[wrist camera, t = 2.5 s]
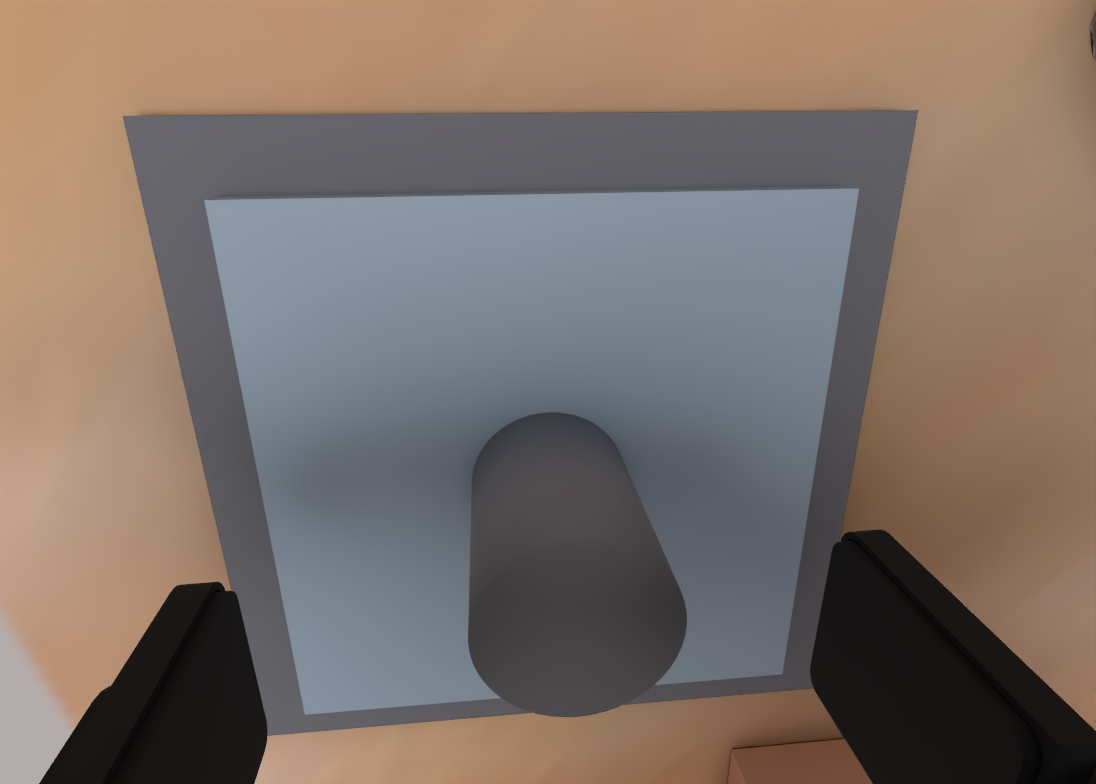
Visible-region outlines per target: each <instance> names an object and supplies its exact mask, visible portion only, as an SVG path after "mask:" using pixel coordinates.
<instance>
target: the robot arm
mask: <svg viewBox="0 0 1096 784" xmlns="http://www.w3.org/2000/svg"><path fill="white" fill-rule="evenodd" d="M810 677H811V681H812V685H813V687H814V690H815V691H816V693H817V695H818V697H819V698H820V700H821V701H822V703H823V705H824V706H825V708H826V709H827V711H828V713H829V714H830V716H831V717H832V719H833V721H834V722H835V724H836V726H837V727H838V729H839V730H840V732H841V734H842V735H843V737H844V738H845V740H846V742H847V743H848V745H849V746H850V748H851V750H852V751H853V753H854V754H855V756H856V758H857V759H858V761H859V762H860V764H861V766H862V767H863V769H864V771H865V772H866V774H867V775H868V777H869V779H870V780H871V782H872V783H873V784H1096V731H1095V730H1094V729H1093V728H1092V727H1091V726H1090V725H1089V724H1088V723H1087V722H1086V721H1085V720H1084V719H1083V718H1082V717H1080V716H1079V715H1078V714H1077V713H1076V712H1075V711H1074V710H1073V709H1072V708H1071V707H1070V706H1069V705H1068V704H1067V703H1066V702H1065V701H1064V700H1063V699H1062V698H1061V697H1060V696H1058V695H1057V694H1056V693H1055V692H1054V691H1053V690H1052V689H1051V688H1050V687H1049V686H1048V685H1047V684H1046V683H1045V682H1044V681H1043V680H1042V679H1041V678H1040V677H1039V676H1038V675H1036V674H1035V673H1034V672H1033V671H1032V670H1031V669H1030V668H1029V667H1028V666H1027V665H1026V664H1025V663H1024V662H1023V661H1022V660H1021V659H1020V658H1019V657H1018V656H1017V655H1016V654H1014V653H1013V652H1012V651H1011V650H1010V649H1009V648H1008V647H1007V646H1006V645H1005V644H1004V643H1003V642H1002V641H1001V640H1000V639H999V638H998V637H997V636H996V635H995V634H994V633H993V632H991V631H990V630H989V629H988V628H987V627H986V626H985V625H984V624H983V623H982V622H981V621H980V620H979V619H978V618H977V617H976V616H975V615H974V614H973V613H972V612H971V611H969V610H968V609H967V608H966V607H965V606H964V605H963V604H962V603H961V602H960V601H959V600H958V599H957V598H956V597H955V596H954V595H953V594H952V593H951V592H950V591H949V590H947V589H946V588H945V587H944V586H943V585H942V584H941V583H940V582H939V581H938V580H937V579H936V578H935V577H934V576H933V575H932V574H931V573H930V572H929V571H928V570H927V569H925V568H924V567H923V566H922V565H921V564H920V563H919V562H918V561H917V560H916V559H915V558H914V557H913V556H912V555H911V554H910V553H909V552H908V551H907V550H906V549H905V548H903V547H902V546H901V545H900V544H899V543H898V542H897V541H896V540H895V539H894V538H893V537H892V536H891V535H890V534H889V533H887V532H886V531H884V530H869V531H857V532H848V533H845V534H844V536H843V537H842V539H841V542H837V543H835V545H834V546H833V548H832V552H831V558H830V563H829V568H828V574H827V579H826V584H825V590H824V595H823V600H822V606H821V611H820V616H819V622H818V627H817V632H816V638H815V643H814V648H813V654H812V659H811V664H810ZM267 733H268V731H267V720H266V716H265V712H264V708H263V703H262V699H261V695H260V690H259V686H258V682H257V678H256V673H255V669H254V665H253V660H252V656H251V652H250V648H249V643H248V639H247V635H246V630H245V626H244V622H243V618H242V613H241V609H240V605H239V600H238V597H237V594H236V593H235V592H234V591H225V589H224V586H223V585H222V584H221V583H219V582H210V583H198V584H185V585H178V586H176V587H175V588H174V589H173V590H172V591H171V593H170V594H169V596H168V597H167V599H166V601H165V602H164V604H163V605H162V607H161V608H160V610H159V612H158V613H157V615H156V616H155V618H154V619H153V621H152V623H151V624H150V626H149V627H148V629H147V630H146V632H145V634H144V635H143V637H142V638H141V640H140V641H139V643H138V645H137V646H136V648H135V649H134V651H133V652H132V654H131V656H130V657H129V659H128V660H127V662H126V663H125V665H124V667H123V668H122V670H121V671H120V673H119V674H118V676H117V678H116V679H115V681H114V682H113V684H112V685H111V686H109V687H108V688H106V689H104V690H103V691H101V692H100V693H99V695H98V696H97V697H96V698H95V699H94V701H93V702H92V703H91V705H90V706H89V708H88V709H87V711H86V713H85V714H84V716H83V717H82V719H81V720H80V722H79V723H78V725H77V726H76V728H75V729H74V731H73V733H72V734H71V736H70V737H69V739H68V740H67V742H66V743H65V745H64V747H63V748H62V750H61V751H60V753H59V754H58V756H57V757H56V759H55V760H54V762H53V763H52V765H51V766H50V768H49V769H48V771H47V772H46V774H45V775H44V777H43V779H42V780H41V782H40V783H39V784H254V783H255V779H256V776H257V773H258V770H259V767H260V764H261V761H262V758H263V755H264V752H265V748H266V743H267Z"/></svg>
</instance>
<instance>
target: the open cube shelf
mask: <svg viewBox="0 0 1096 784" xmlns="http://www.w3.org/2000/svg"><path fill="white" fill-rule="evenodd" d="M728 784H873V783H872V782H871V780H870V779H869V777H868V775H867V774H866V772H865V771H864V769H863V767H862V766H861V764H860V762H859V761H858V759H857V758H856V756H855V754H854V753H853V751H852V750H851V748H850V746H849V745H848V743H847V742H846V740H845V739H839V740H828V741H818V742H807V743H796V744H786V745H775V746H765V747H754V748H743V749H733V750H732V752H731V760H730V768H729V776H728Z"/></svg>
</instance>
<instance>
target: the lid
mask: <svg viewBox="0 0 1096 784" xmlns="http://www.w3.org/2000/svg"><path fill="white" fill-rule="evenodd" d="M858 193H859V188H852V187H844V186H803V187H745V188H688V189H630V190H573V191H515V192H458V193H400V194H343V195H285V196H228V197H216V198H212V199H207V200H204V202H205V207H206V212H207V217H208V222H209V227H210V232H211V237H212V242H213V248H214V253H215V258H216V263H217V268H218V273H219V278H220V283H221V288H222V294H223V299H224V304H225V309H226V314H227V319H228V324H229V329H230V335H231V340H232V345H233V350H234V355H235V360H236V365H237V370H238V375H239V381H240V386H241V391H242V396H243V401H244V406H245V411H246V416H247V422H248V427H249V432H250V437H251V442H252V447H253V452H254V457H255V462H256V468H257V473H258V478H259V483H260V488H261V493H262V498H263V503H264V509H265V514H266V519H267V524H268V529H269V534H270V539H271V544H272V549H273V555H274V560H275V565H276V570H277V575H278V580H279V585H280V590H281V595H282V601H283V606H284V611H285V616H286V621H287V626H288V631H289V636H290V642H291V647H292V652H293V657H294V662H295V667H296V672H297V677H298V682H299V688H300V693H301V698H302V703H303V708H304V713H305V715H308V714H319V713H331V712H343V711H355V710H367V709H378V708H390V707H402V706H414V705H426V704H437V703H449V702H461V701H473V700H485V699H496V698H502V699H503V700H505V701H507V702H509V703H510V704H512V705H514V706H516V707H519V708H521V709H523V710H526V711H529V712H533V713H536V714H541V715H547V716H556V717H578V716H586V715H592V714H597V713H601V712H605V711H608V710H611V709H614V708H617V707H619V706H621V705H623V704H626V703H628V702H630V701H632V700H633V699H635V698H637V697H638V696H640V695H642V694H643V693H645V692H646V691H647V690H649V689H650V688H651V687H652V686H654V685H662V684H674V683H685V682H697V681H709V680H721V679H733V678H744V677H756V676H768V675H780V674H782V673H783V667H784V660H785V654H786V648H787V641H788V635H789V629H790V622H791V616H792V610H793V604H794V597H795V591H796V585H797V578H798V572H799V566H800V559H801V553H802V547H803V540H804V534H805V528H806V521H807V515H808V509H809V502H810V496H811V490H812V483H813V477H814V471H815V465H816V458H817V452H818V446H819V439H820V433H821V427H822V420H823V414H824V408H825V401H826V395H827V389H828V382H829V376H830V370H831V363H832V357H833V351H834V344H835V338H836V332H837V326H838V319H839V313H840V307H841V300H842V294H843V288H844V281H845V275H846V269H847V262H848V256H849V250H850V243H851V237H852V231H853V224H854V218H855V212H856V206H857V199H858Z"/></svg>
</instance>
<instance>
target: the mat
mask: <svg viewBox="0 0 1096 784" xmlns="http://www.w3.org/2000/svg"><path fill="white" fill-rule="evenodd" d="M917 114H918V110H914V111H771V112H627V113H484V114H341V115H197V116H123V119H124V123H125V128H126V132H127V137H128V141H129V145H130V150H131V154H132V158H133V163H134V167H135V172H136V176H137V180H138V185H139V189H140V193H141V198H142V202H143V206H144V211H145V215H146V220H147V224H148V228H149V233H150V237H151V241H152V246H153V250H154V254H155V259H156V263H157V268H158V272H159V276H160V281H161V285H162V289H163V294H164V298H165V302H166V307H167V311H168V316H169V320H170V324H171V329H172V333H173V337H174V342H175V346H176V350H177V355H178V359H179V364H180V368H181V372H182V377H183V381H184V385H185V390H186V394H187V398H188V403H189V407H190V412H191V416H192V420H193V425H194V429H195V433H196V438H197V442H198V446H199V451H200V455H201V460H202V464H203V468H204V473H205V477H206V481H207V486H208V490H209V494H210V499H211V503H212V508H213V512H214V516H215V521H216V525H217V529H218V534H219V538H220V542H221V547H222V551H223V556H224V560H225V564H226V569H227V573H228V577H229V582H230V586H231V590H232V591H234V592H235V593H236V594H237V597H238V600H239V605H240V609H241V613H242V618H243V622H244V626H245V630H246V635H247V639H248V643H249V648H250V652H251V656H252V660H253V665H254V669H255V673H256V678H257V682H258V686H259V690H260V695H261V699H262V703H263V708H264V712H265V716H266V720H267V731H268V733H267V736H270V735H282V734H293V733H305V732H316V731H328V730H339V729H351V728H362V727H374V726H385V725H397V724H408V723H420V722H431V721H443V720H454V719H466V718H477V717H489V716H500V715H512V714H523V713H533V712H529V711H526V710H523V709H521V708H519V707H516V706H514V705H512V704H510V703H509V702H507V701H505V700H503V699H502V698H496V699H485V700H473V701H461V702H449V703H437V704H426V705H414V706H402V707H390V708H378V709H367V710H355V711H343V712H331V713H319V714H308V715H305V713H304V708H303V703H302V698H301V693H300V688H299V682H298V677H297V672H296V667H295V662H294V657H293V652H292V647H291V642H290V636H289V631H288V626H287V621H286V616H285V611H284V606H283V601H282V595H281V590H280V585H279V580H278V575H277V570H276V565H275V560H274V555H273V549H272V544H271V539H270V534H269V529H268V524H267V519H266V514H265V509H264V503H263V498H262V493H261V488H260V483H259V478H258V473H257V468H256V462H255V457H254V452H253V447H252V442H251V437H250V432H249V427H248V422H247V416H246V411H245V406H244V401H243V396H242V391H241V386H240V381H239V375H238V370H237V365H236V360H235V355H234V350H233V345H232V340H231V335H230V329H229V324H228V319H227V314H226V309H225V304H224V299H223V294H222V288H221V283H220V278H219V273H218V268H217V263H216V258H215V253H214V248H213V242H212V237H211V232H210V227H209V222H208V217H207V212H206V207H205V202H204V200H207V199H212V198H216V197H228V196H285V195H343V194H400V193H458V192H515V191H573V190H630V189H688V188H745V187H803V186H844V187H852V188H859V193H858V199H857V206H856V212H855V218H854V224H853V231H852V237H851V243H850V250H849V256H848V262H847V269H846V275H845V281H844V288H843V294H842V300H841V307H840V313H839V319H838V326H837V332H836V338H835V344H834V351H833V357H832V363H831V370H830V376H829V382H828V389H827V395H826V401H825V408H824V414H823V420H822V427H821V433H820V439H819V446H818V452H817V458H816V465H815V471H814V477H813V483H812V490H811V496H810V502H809V509H808V515H807V521H806V528H805V534H804V540H803V547H802V553H801V559H800V566H799V572H798V578H797V585H796V591H795V597H794V604H793V610H792V616H791V622H790V629H789V635H788V641H787V648H786V654H785V660H784V667H783V673H782V674H780V675H768V676H756V677H744V678H733V679H721V680H709V681H697V682H685V683H674V684H662V685H654V686H652V687H651V688H650V689H649V690H647V691H646V692H645V693H643V694H642V695H640V696H638V697H637V698H635V699H633V700H632V701H630V702H628V703H626V704H623V705H627V704H638V703H650V702H661V701H673V700H684V699H696V698H707V697H719V696H730V695H742V694H753V693H765V692H776V691H788V690H799V689H811V688H813V685H812V681H811V677H810V664H811V659H812V654H813V648H814V643H815V638H816V632H817V627H818V622H819V616H820V611H821V606H822V600H823V595H824V590H825V584H826V579H827V574H828V568H829V563H830V558H831V552H832V548H833V546H834V545H835V543H837V542H839V541H840V536H841V530H842V525H843V519H844V514H845V508H846V503H847V498H848V492H849V487H850V481H851V476H852V470H853V465H854V459H855V454H856V448H857V443H858V437H859V432H860V426H861V421H862V415H863V410H864V404H865V399H866V393H867V388H868V382H869V377H870V371H871V366H872V360H873V355H874V349H875V344H876V338H877V333H878V327H879V322H880V317H881V311H882V306H883V300H884V295H885V289H886V284H887V278H888V273H889V267H890V262H891V256H892V251H893V245H894V240H895V234H896V229H897V223H898V218H899V212H900V207H901V201H902V196H903V190H904V185H905V179H906V174H907V168H908V163H909V157H910V152H911V146H912V141H913V136H914V130H915V125H916V119H917Z"/></svg>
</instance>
